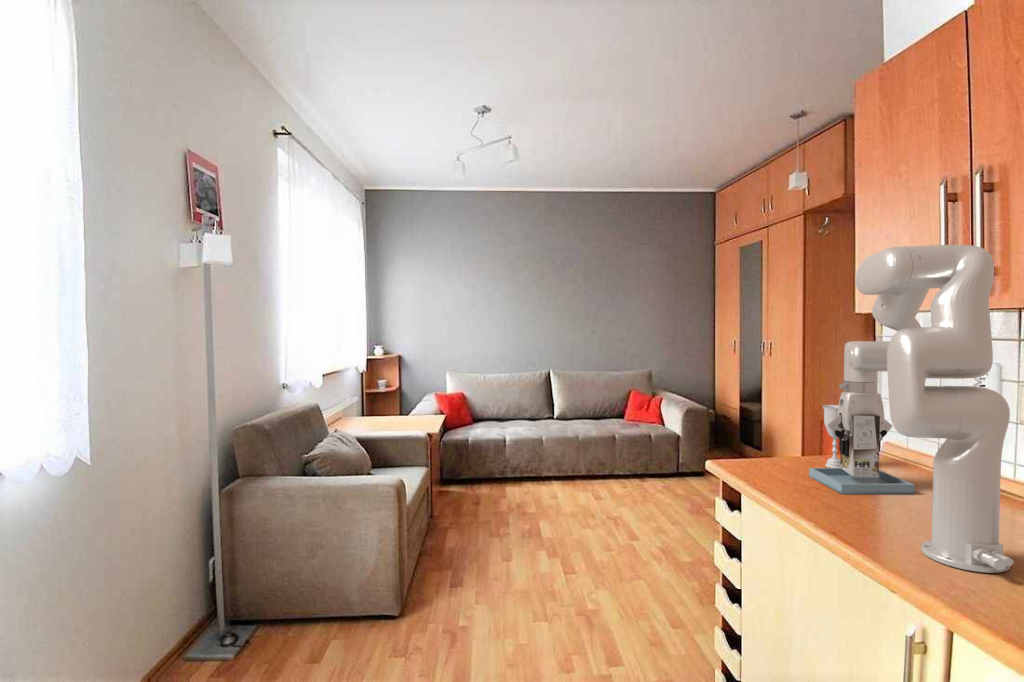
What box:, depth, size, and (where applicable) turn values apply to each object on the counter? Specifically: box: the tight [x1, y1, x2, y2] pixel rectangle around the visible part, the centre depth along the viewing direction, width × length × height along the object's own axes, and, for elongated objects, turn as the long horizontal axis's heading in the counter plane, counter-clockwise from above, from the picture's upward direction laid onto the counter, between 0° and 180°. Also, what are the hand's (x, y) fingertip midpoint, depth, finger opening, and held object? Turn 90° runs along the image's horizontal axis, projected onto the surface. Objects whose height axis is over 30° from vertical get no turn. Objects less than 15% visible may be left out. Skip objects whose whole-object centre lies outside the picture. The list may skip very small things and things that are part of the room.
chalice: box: [822, 404, 841, 468], centre depth 166 cm, size 7×7×18 cm
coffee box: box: [839, 414, 880, 478], centre depth 147 cm, size 9×6×16 cm
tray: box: [808, 467, 916, 495], centre depth 148 cm, size 16×18×2 cm
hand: (859, 454), depth 147 cm, fingers closed on coffee box, 7 cm apart
